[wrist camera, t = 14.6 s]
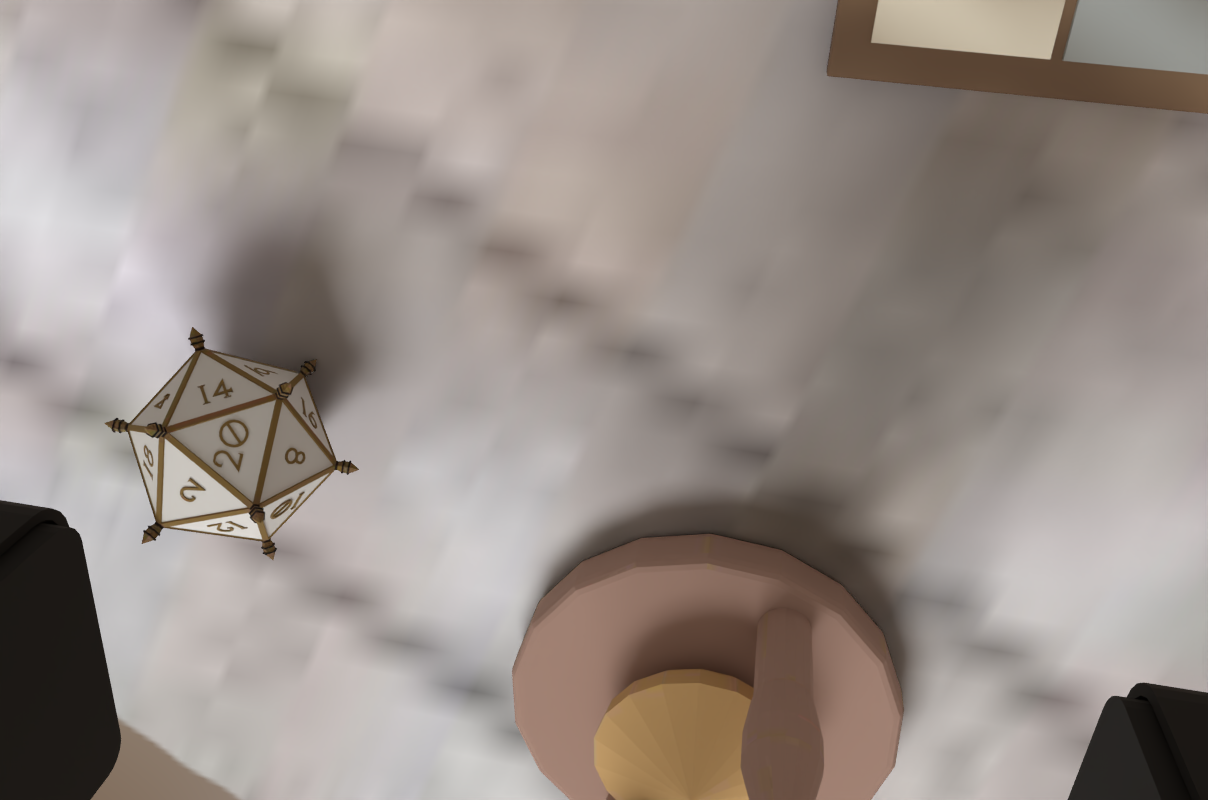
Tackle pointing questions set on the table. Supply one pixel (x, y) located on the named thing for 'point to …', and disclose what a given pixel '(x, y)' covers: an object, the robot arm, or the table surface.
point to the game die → (230, 447)
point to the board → (1032, 48)
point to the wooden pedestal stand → (706, 678)
